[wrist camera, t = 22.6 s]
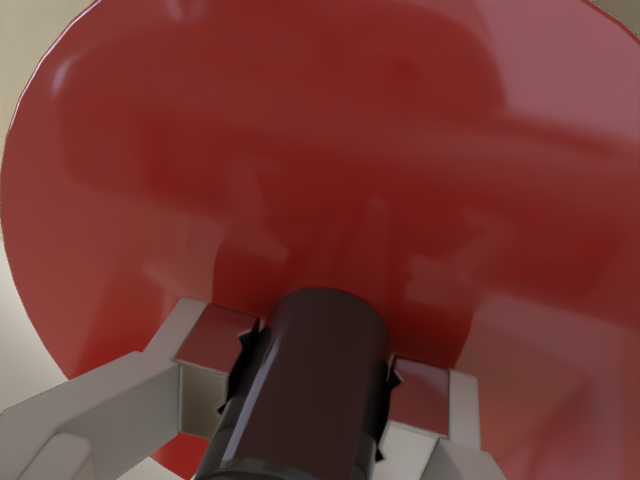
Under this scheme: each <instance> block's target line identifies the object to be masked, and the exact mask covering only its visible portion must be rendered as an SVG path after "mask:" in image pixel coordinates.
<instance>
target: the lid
mask: <svg viewBox="0 0 640 480" xmlns="http://www.w3.org/2000/svg"><path fill="white" fill-rule="evenodd" d="M0 219H1V226H2V234H3V241H4V247H5V252H6V256H7V259H8V263H9V266H10V270H11V273H12V277H13V280H14V284H15V286H16V289H17V291H18V294H19V296H20V299H21V301H22V303H23V306H24V308H25V310H26V313H27V315H28V317H29V319H30V321H31V323H32V325H33V326H34V328H35V330H36V332H37V334H38V336H39V337H40V339H41V341H42V343H43V345H44V346H45V348H46V349H47V351H48V352H49V354H50V355H51V357H52V358H53V359H54V361H55V362H56V364H57V365H58V367H59V368H60V370H61V371H62V372H63V374H64V375H65V376H66V378H67V379H68V380H71V379H73V378H76V377H78V376H80V375H82V374H84V373H87V372H89V371H91V370H93V369H95V368H98V367H100V366H102V365H104V364H106V363H109V362H111V361H113V360H115V359H118V358H120V357H122V356H124V355H126V354H129V353H131V352H133V351H138V352H143V351H144V350H145V348H146V347H147V345H148V344H149V343H150V341H151V340H152V338H153V337H154V336H155V334H156V333H157V331H158V330H159V329H160V327H161V326H162V324H163V323H164V322H165V320H166V319H167V317H168V316H169V315H170V313H171V312H172V310H173V309H174V308H175V306H176V305H177V303H178V302H179V301H180V300H181V299H182V298H184V297H185V296H189V297H193V298H196V299H199V300H202V301H206V302H209V303H214V304H218V305H221V306H224V307H228V308H231V309H234V310H238V311H241V312H244V313H248V314H251V315H254V316H258V317H260V319H261V322H260V332H259V334H258V337H257V339H256V341H255V343H254V345H253V347H252V349H251V352H250V354H249V356H248V358H247V360H246V362H245V364H244V367H243V369H242V371H241V373H240V375H239V377H238V379H237V382H236V384H235V386H234V388H233V390H232V392H231V394H230V397H229V399H228V401H227V403H226V405H225V407H224V409H223V412H222V414H221V416H220V418H219V420H218V422H217V424H216V427H215V429H214V431H213V433H212V435H211V437H210V439H209V440H207V439H203V438H199V437H196V436H192V435H188V434H184V433H181V432H178V435H177V436H175V437H174V438H173V439H171V440H170V441H169V442H167V443H166V444H164V445H163V446H162V447H160V448H159V449H157V450H156V451H155V452H153V453H152V454H151V455H149V457H151V458H152V459H154V460H155V461H156V462H158V463H159V464H160V465H162V466H163V467H165V468H167V469H168V470H170V471H171V472H173V473H175V474H176V475H178V476H180V477H181V478H183V479H184V480H373V477H374V470H375V464H376V457H377V450H378V443H379V436H380V429H381V421H382V415H383V409H384V403H385V396H386V395H385V394H386V387H387V381H388V375H389V368H390V366H391V363H392V360H393V358H394V355H395V354H397V355H401V356H404V357H408V358H412V359H416V360H419V361H423V362H427V363H431V364H435V365H438V366H442V367H446V368H447V369H448V368H451V369H454V370H458V371H462V372H466V373H470V374H474V375H475V376H476V377H477V379H478V395H479V415H480V436H481V450H482V451H486V452H489V453H490V454H491V455H492V457H493V458H494V460H495V461H496V463H497V464H498V466H499V467H500V469H501V470H502V472H503V473H504V475H505V476H506V478H507V479H508V480H640V37H638V36H637V35H636V34H635V33H634V32H633V31H632V30H631V29H630V28H629V27H628V26H627V25H625V24H624V23H623V22H622V21H621V20H620V19H618V18H617V17H615V16H614V15H612V14H611V13H609V12H608V11H606V10H605V9H603V8H602V7H600V6H599V5H597V4H596V3H594V2H593V1H591V0H95V1H94V2H92V3H91V4H90V5H89V6H88V7H87V8H85V9H84V10H83V11H82V12H81V13H80V14H78V15H77V16H76V17H75V18H74V19H72V20H71V22H70V23H69V24H68V25H67V27H66V28H65V29H64V30H63V31H62V33H61V34H60V35H59V36H58V38H57V39H56V40H55V41H54V42H53V44H52V45H51V46H50V47H49V49H48V50H47V51H46V52H45V53H44V55H43V56H42V57H41V59H40V61H39V63H38V65H37V66H36V68H35V70H34V72H33V74H32V75H31V77H30V79H29V81H28V83H27V84H26V86H25V88H24V90H23V92H22V93H21V95H20V97H19V100H18V103H17V106H16V109H15V112H14V115H13V117H12V120H11V123H10V126H9V129H8V132H7V135H6V140H5V146H4V152H3V158H2V164H1V170H0Z"/></svg>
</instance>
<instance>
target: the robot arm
mask: <svg viewBox="0 0 640 480" xmlns="http://www.w3.org/2000/svg"><path fill="white" fill-rule="evenodd" d="M260 322H261V319H260V317H258V316H254V315H251V314H248V313H244V312H241V311H238V310H234V309H231V308H228V307H224V306H221V305H218V304H214V303H209V302H206V301H202V300H199V299H196V298H193V297H189V296H185V297H184V298H182V299H181V300H180V301H179V302H178V303H177V305H176V306H175V308H174V309H173V310H172V312H171V313H170V315H169V316H168V317H167V319H166V320H165V322H164V323H163V324H162V326H161V327H160V329H159V330H158V331H157V333H156V334H155V336H154V337H153V338H152V340H151V341H150V343H149V344H148V345H147V347H146V348H145V350H144V351H143V352H138V351H133V352H131V353H129V354H126V355H124V356H122V357H120V358H118V359H115V360H113V361H111V362H109V363H106V364H104V365H102V366H100V367H98V368H95V369H93V370H91V371H89V372H87V373H84V374H82V375H80V376H78V377H76V378H73V379H71V380H69V381H67V382H65V383H62V384H60V385H58V386H56V387H54V388H52V389H49V390H47V391H45V392H43V393H40V394H38V395H36V396H34V397H31V398H29V399H27V400H25V401H23V402H21V403H18V404H16V405H14V406H12V407H9V408H7V409H5V410H4V411H3V412H2V413H1V414H0V480H116V479H117V478H119V477H120V476H121V475H123V474H124V473H126V472H127V471H128V470H130V469H131V468H132V467H134V466H135V465H137V464H138V463H140V462H141V461H142V460H144V459H145V458H146V457H148V456H149V455H151V454H152V453H153V452H155V451H156V450H157V449H159V448H160V447H162V446H163V445H164V444H166V443H167V442H169V441H170V440H171V439H173V438H174V437H175V436H177V435H178V432H181V433H184V434H188V435H192V436H196V437H199V438H203V439H207V440H209V439H210V437H211V435H212V433H213V431H214V429H215V427H216V424H217V422H218V420H219V418H220V416H221V414H222V412H223V409H224V407H225V405H226V403H227V401H228V399H229V397H230V394H231V392H232V390H233V388H234V386H235V384H236V382H237V379H238V377H239V375H240V373H241V371H242V369H243V367H244V364H245V362H246V360H247V358H248V356H249V354H250V352H251V349H252V347H253V345H254V343H255V341H256V339H257V337H258V334H259V332H260ZM385 395H386V396H385V403H384V409H383V415H382V421H381V429H380V436H379V443H378V450H377V457H376V464H375V470H374V477H373V480H508V479H507V478H506V476H505V475H504V473H503V472H502V470H501V469H500V467H499V466H498V464H497V463H496V461H495V460H494V458H493V457H492V455H491V454H490V453H489V452H486V451H482V450H481V436H480V415H479V395H478V379H477V377H476V376H475V375H474V374H470V373H466V372H462V371H458V370H454V369H451V368H448V369H447V368H446V367H442V366H438V365H435V364H431V363H427V362H423V361H419V360H416V359H412V358H408V357H404V356H401V355H397V354H395V355H394V358H393V360H392V363H391V366H390V368H389V375H388V381H387V387H386V394H385Z"/></svg>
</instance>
